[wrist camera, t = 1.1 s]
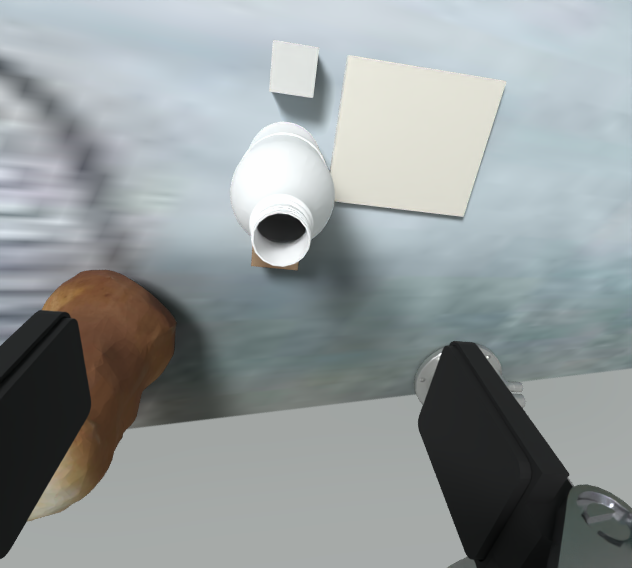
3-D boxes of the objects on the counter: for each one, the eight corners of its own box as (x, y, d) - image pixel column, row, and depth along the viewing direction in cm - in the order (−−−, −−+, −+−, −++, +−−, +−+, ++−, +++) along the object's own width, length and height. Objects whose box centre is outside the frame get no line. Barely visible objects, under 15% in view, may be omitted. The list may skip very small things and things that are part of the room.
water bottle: (306, 197, 44) (323, 316, 22) (243, 177, 42) (194, 281, 20) (328, 133, 41) (375, 195, 19) (261, 108, 39) (227, 143, 17)
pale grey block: (316, 50, 37) (319, 47, 34) (310, 96, 39) (313, 98, 36) (274, 43, 37) (273, 39, 33) (271, 90, 39) (269, 91, 35)
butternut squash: (59, 320, 49) (-129, 517, 27) (91, 232, 44) (-107, 385, 22) (166, 362, 53) (78, 563, 31) (206, 285, 48) (136, 459, 26)
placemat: (501, 81, 40) (506, 81, 39) (459, 214, 46) (463, 216, 45) (347, 55, 38) (348, 55, 37) (325, 198, 44) (326, 200, 43)
